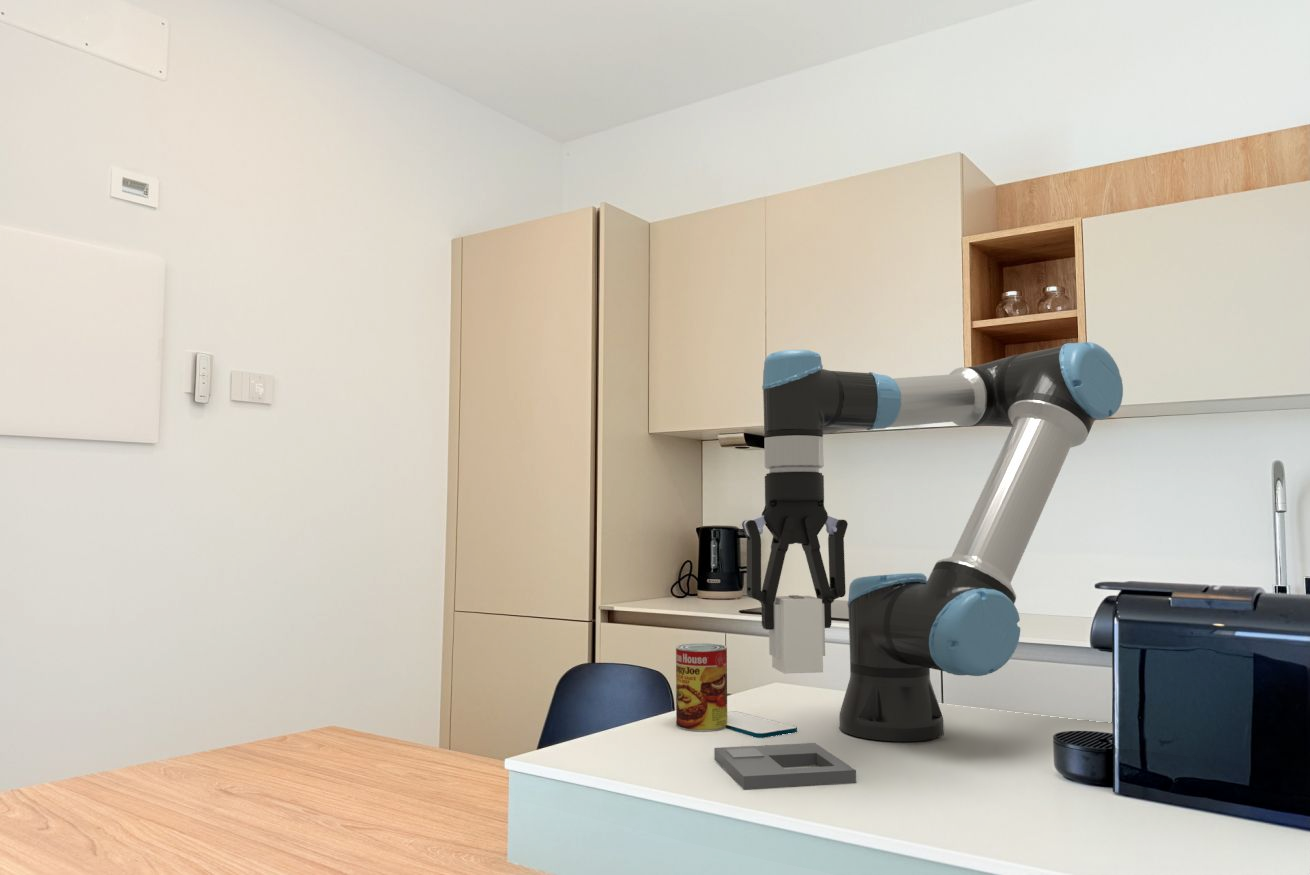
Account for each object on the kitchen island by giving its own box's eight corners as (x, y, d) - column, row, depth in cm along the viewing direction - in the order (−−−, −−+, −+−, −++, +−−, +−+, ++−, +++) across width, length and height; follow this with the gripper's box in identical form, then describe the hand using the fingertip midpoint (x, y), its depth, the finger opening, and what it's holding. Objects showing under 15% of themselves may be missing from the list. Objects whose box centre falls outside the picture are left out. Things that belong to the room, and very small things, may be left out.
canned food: (666, 724, 145) (665, 645, 146) (705, 718, 150) (704, 641, 151) (698, 734, 139) (697, 651, 140) (738, 726, 143) (737, 647, 144)
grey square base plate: (815, 754, 127) (814, 741, 127) (856, 782, 113) (855, 768, 113) (714, 759, 124) (714, 746, 124) (743, 789, 110) (743, 774, 110)
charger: (809, 666, 121) (808, 594, 122) (823, 672, 117) (821, 597, 117) (772, 667, 121) (771, 594, 121) (784, 673, 116) (783, 598, 116)
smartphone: (695, 722, 149) (758, 740, 136) (695, 716, 149) (758, 734, 136) (735, 716, 153) (800, 733, 140) (735, 710, 153) (800, 727, 140)
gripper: (849, 472, 126) (853, 649, 124) (718, 472, 123) (720, 653, 121) (871, 470, 119) (876, 657, 117) (733, 469, 115) (735, 661, 113)
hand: (797, 654), depth 119 cm, fingers closed on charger, 5 cm apart
